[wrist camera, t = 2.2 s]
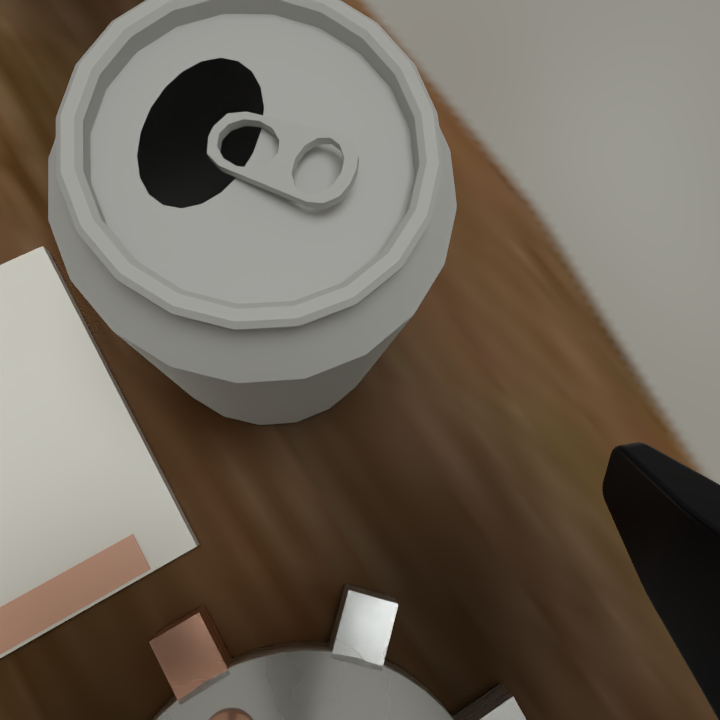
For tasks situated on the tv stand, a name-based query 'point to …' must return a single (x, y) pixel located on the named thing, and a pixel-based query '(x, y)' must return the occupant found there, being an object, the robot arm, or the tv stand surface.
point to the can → (251, 196)
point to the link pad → (69, 465)
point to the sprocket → (306, 673)
